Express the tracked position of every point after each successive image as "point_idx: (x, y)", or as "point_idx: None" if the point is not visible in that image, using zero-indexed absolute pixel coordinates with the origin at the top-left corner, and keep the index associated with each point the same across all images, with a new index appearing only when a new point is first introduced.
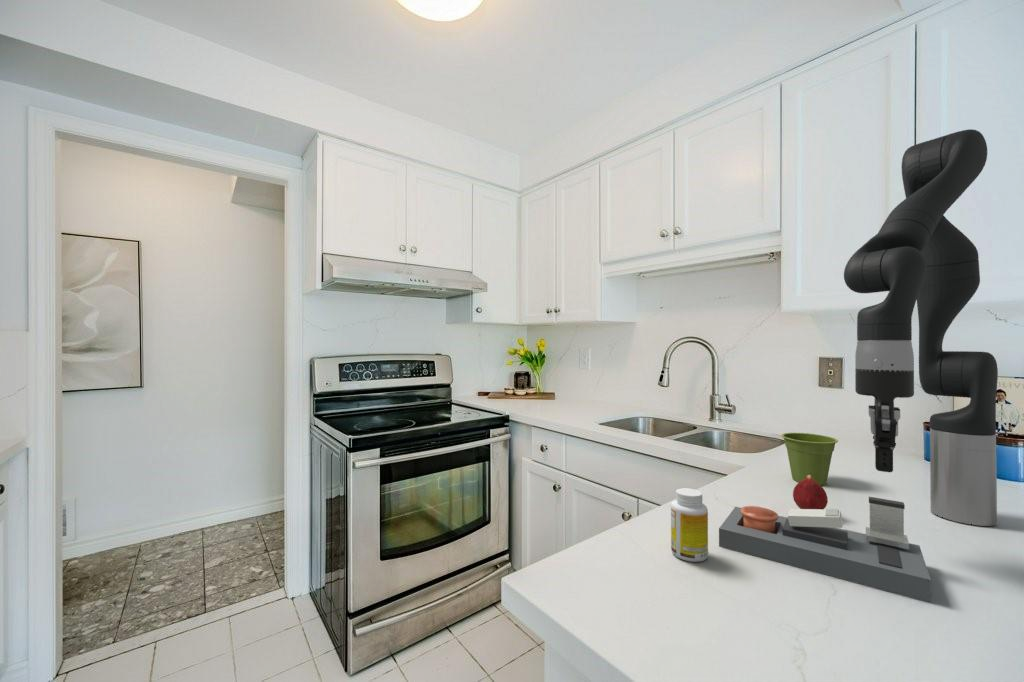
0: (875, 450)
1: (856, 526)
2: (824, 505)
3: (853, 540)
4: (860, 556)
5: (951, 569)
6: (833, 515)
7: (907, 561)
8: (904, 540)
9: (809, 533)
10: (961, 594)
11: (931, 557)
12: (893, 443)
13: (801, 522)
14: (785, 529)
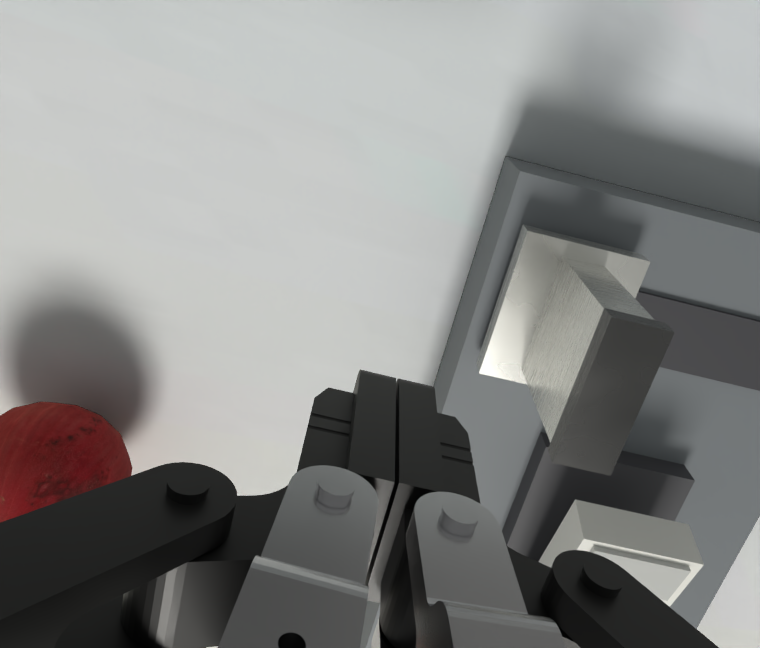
0: (366, 579)
1: (129, 272)
2: (99, 423)
3: None
4: (733, 437)
5: (505, 38)
6: (682, 579)
7: (738, 290)
8: (604, 264)
9: None
10: (746, 108)
11: (393, 70)
12: (671, 624)
13: None
14: None
